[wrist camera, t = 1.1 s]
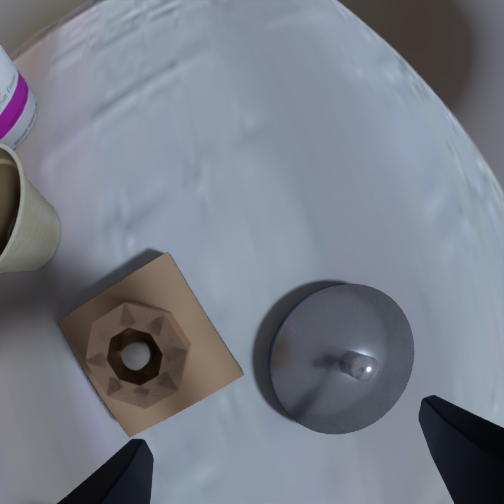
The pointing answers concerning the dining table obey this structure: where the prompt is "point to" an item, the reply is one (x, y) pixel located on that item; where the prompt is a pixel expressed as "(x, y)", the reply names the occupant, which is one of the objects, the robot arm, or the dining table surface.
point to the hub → (341, 358)
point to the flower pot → (24, 219)
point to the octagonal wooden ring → (120, 376)
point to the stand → (145, 348)
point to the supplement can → (15, 104)
